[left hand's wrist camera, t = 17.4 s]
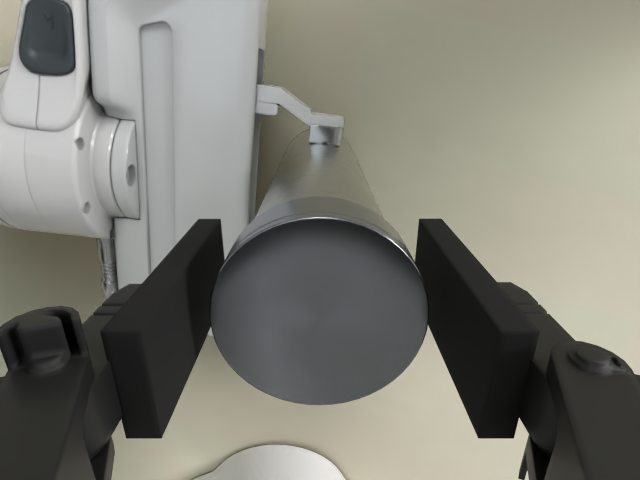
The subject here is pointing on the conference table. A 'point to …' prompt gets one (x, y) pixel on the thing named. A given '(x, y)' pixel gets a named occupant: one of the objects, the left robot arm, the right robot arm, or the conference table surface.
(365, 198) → the thermos bottle
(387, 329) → the lid
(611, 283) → the conference table surface
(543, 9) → the conference table surface
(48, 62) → the right robot arm
